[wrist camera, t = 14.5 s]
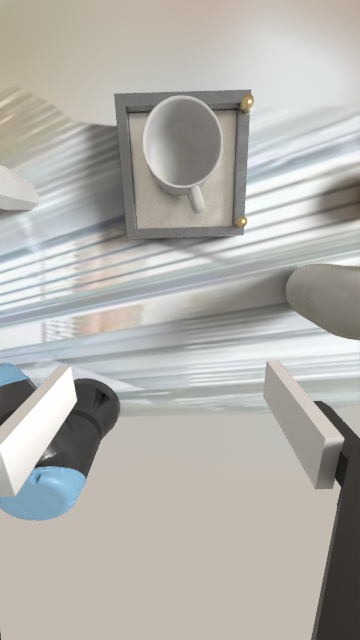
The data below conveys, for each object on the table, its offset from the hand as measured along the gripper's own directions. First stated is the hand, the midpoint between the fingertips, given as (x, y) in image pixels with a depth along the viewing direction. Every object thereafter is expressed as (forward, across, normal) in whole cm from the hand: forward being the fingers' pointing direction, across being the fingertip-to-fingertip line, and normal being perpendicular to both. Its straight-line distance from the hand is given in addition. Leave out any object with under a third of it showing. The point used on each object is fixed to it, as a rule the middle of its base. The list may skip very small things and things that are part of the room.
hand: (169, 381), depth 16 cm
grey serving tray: (+35, +2, +20) cm, 40 cm away
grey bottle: (+35, +26, 0) cm, 44 cm away
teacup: (+31, +2, +20) cm, 37 cm away
